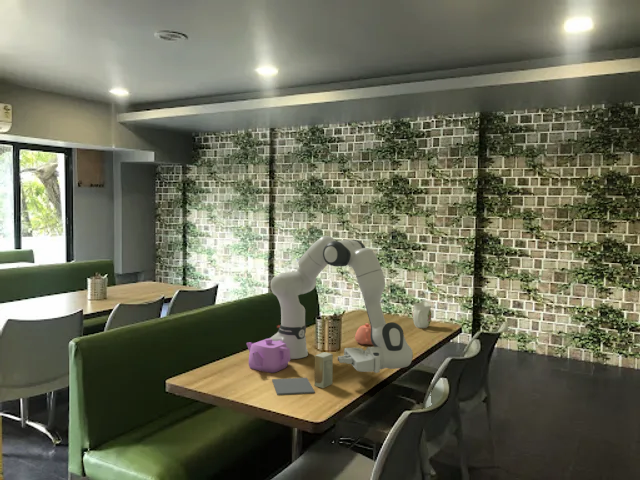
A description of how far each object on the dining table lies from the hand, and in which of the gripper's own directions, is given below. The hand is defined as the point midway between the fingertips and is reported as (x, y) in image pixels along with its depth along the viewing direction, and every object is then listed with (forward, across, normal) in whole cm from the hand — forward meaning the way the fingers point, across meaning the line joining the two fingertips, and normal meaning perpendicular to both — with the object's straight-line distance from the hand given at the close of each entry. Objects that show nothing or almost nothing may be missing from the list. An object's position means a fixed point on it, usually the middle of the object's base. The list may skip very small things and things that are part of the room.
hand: (338, 359), depth 203 cm
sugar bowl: (-30, -58, +10) cm, 65 cm away
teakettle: (+25, -26, +10) cm, 37 cm away
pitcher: (-72, -89, +10) cm, 115 cm away
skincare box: (+6, 0, +10) cm, 12 cm away
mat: (+18, 0, +10) cm, 20 cm away
